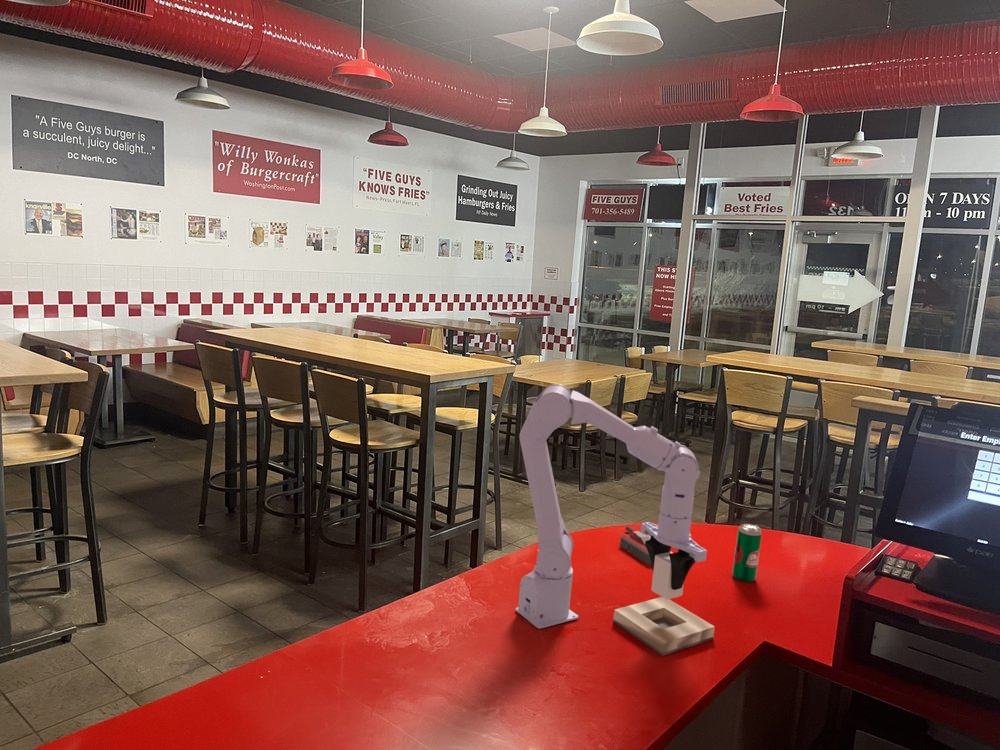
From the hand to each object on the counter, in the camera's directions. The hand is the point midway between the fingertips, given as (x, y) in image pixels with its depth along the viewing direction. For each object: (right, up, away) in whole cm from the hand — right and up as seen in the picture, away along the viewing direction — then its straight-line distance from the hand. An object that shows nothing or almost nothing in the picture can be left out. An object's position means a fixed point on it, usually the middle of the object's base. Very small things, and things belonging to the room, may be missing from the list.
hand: (667, 583), depth 134 cm
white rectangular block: (0, -2, 0) cm, 2 cm away
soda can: (+23, -7, +27) cm, 36 cm away
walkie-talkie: (+2, -4, +40) cm, 40 cm away
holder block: (-1, -9, +1) cm, 9 cm away
